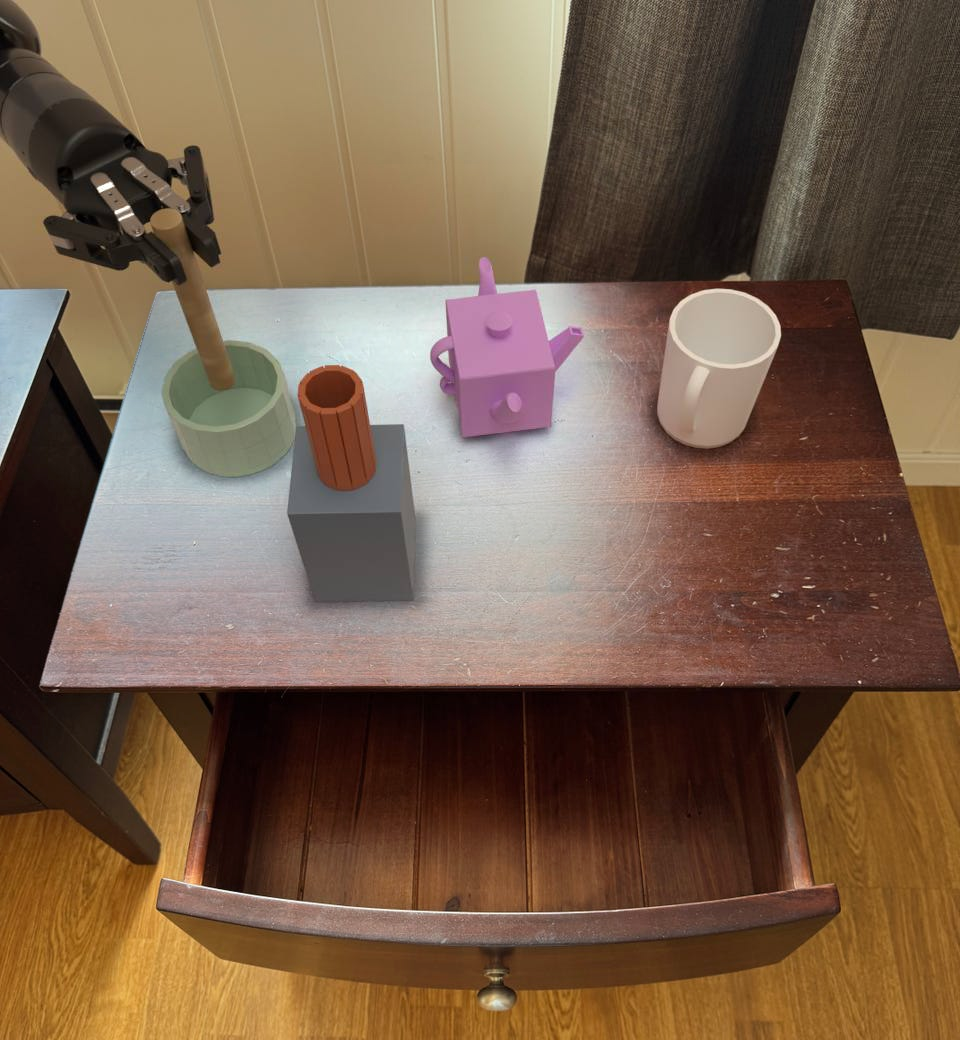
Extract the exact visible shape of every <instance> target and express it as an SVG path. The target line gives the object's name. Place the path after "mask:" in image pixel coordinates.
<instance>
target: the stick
mask: <svg viewBox="0 0 960 1040" xmlns="http://www.w3.org/2000/svg"><path fill="white" fill-rule="evenodd" d="M149 223H150V227H151V230H152V232H153V233H154V234H155V236H156V237H157V238H159V239H160V240H161V241H162V242H163V243H164V244H165V245H166V246H167V247H169V248H170V249H171V250H172V251H173V252H174V253H175V254H176V255H177V256H178V258H179V259H180V261H181V263H182V266H183V269H184V272H185V275H186V277H187V281H186V282H185V283H183V284H181V285H179V286H178V285H177V284H176V283H175V282H174V281H173V280H172V281H171V284H172V286H173V289H174V291H175V294H176V297H177V299H178V302H179V305H180V308H181V310H182V313H183V316H184V318H185V321H186V324H187V327H188V330H189V332H190V334H191V337H192V340H193V342H194V346H195V349H197V351H198V354H199V356H200V359H201V362H202V365H203V367H204V370H205V373H206V375H207V378H208V381H209V384H210V386H211V387H212V388H213V389H215V390H218V391H225V390H228V389H230V388H231V387H232V386H233V385H234V384H235V381H236V378H235V375H234V372H233V369H232V366H231V363H230V360H229V357H228V354H227V351H226V348H225V345H224V342H223V341H224V339H223V336H222V333H221V330H220V327H219V324H218V321H217V318H216V315H215V311H214V309H213V306H212V302H211V300H210V296H209V294H208V291H207V287H206V285H205V282H204V279H203V276H202V273H201V270H200V266H199V264H198V261H197V257H196V254H195V252H194V251H193V249H192V246H191V243H190V240H189V237H188V234H187V231H186V228H185V225H184V222H183V219H182V216H181V214H180V213H179V212H178V211H177V210H175V209H170V208H167V209H161V210H159V211H157V212H155V213H154V214H153V215H152V216H151V219H150V222H149Z"/></svg>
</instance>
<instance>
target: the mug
mask: <svg viewBox="0 0 960 1040" xmlns="http://www.w3.org/2000/svg"><path fill="white" fill-rule="evenodd" d="M781 329H782V328H781V324H780V322H779V319H778V316H777V315H776V313H774V311H773V310H772V309H771V308H770V306H769V305H768V304H766V303H765V302H763V301H762V300H761V299H759V298H758V297H755V296H753V295H751V294H749V293H747V292H744V291H740V290H735V289H729V288H727V289H726V288H711V289H704V290H700V291H697V292H695V293H691V294H689V295H688V296H686V297H685V298H683V299H682V300H680V301H679V302H678V304H677V305H676V306H675V307H674V308H673V310H672V313H671V315H670V318H669V321H668V327H667V334H666V342H665V349H664V356H663V363H662V368H661V369H662V370H661V376H660V384H659V391H658V398H657V403H656V404H657V405H656V415H657V416H656V417H657V419H658V422H659V424H660V426H661V428H663V430H664V432H665V433H666V434H667V435H668V436H669V437H671V438H672V439H673V440H674V441H676V442H678V443H680V444H682V445H684V446H688V447H692V448H695V449H705V450H707V449H708V450H709V449H714V448H721V447H723V446H725V445H728V444H730V443H732V442H733V441H735V440H736V439H737V438H739V437H740V435H741V434H742V433H743V431H744V430H745V428H746V426H747V423H748V421H749V418H750V416H751V414H752V411H753V408H754V407H755V403H756V401H757V399H758V396H759V394H760V392H761V389H762V387H763V384H764V382H765V379H766V377H767V375H768V372H769V369H770V367H771V364H772V362H773V360H774V358H775V355H776V352H777V350H778V347H779V344H780V341H781V337H782V330H781Z"/></svg>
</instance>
